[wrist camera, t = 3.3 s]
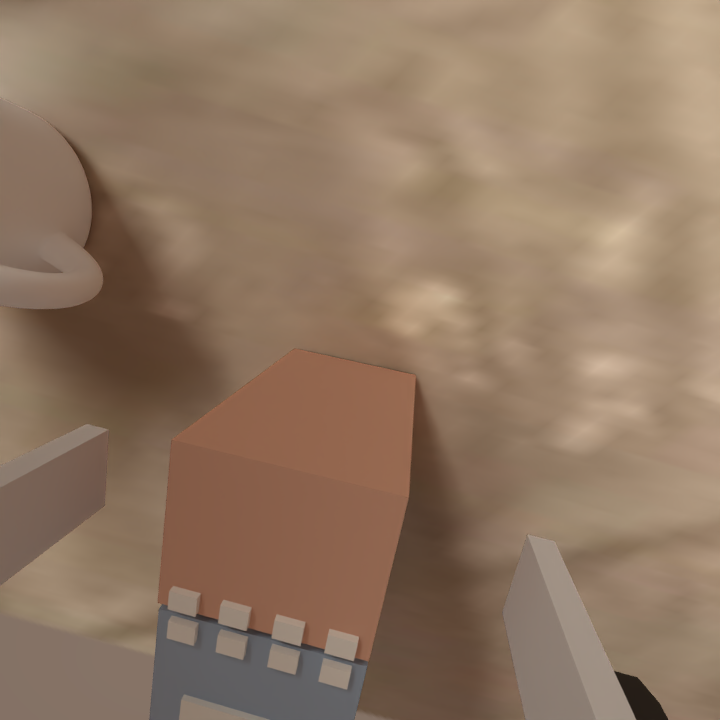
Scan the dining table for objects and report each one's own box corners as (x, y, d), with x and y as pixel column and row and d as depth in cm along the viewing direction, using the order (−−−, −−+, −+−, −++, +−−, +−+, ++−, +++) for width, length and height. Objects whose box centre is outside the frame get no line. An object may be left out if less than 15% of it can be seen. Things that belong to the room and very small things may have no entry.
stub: (294, 348, 22) (166, 442, 11) (415, 374, 21) (408, 502, 10) (280, 441, 23) (153, 608, 12) (394, 468, 22) (368, 668, 12)
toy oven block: (280, 445, 23) (155, 614, 12) (393, 472, 23) (366, 673, 12) (260, 573, 25) (138, 814, 14) (363, 600, 25) (317, 872, 14)
